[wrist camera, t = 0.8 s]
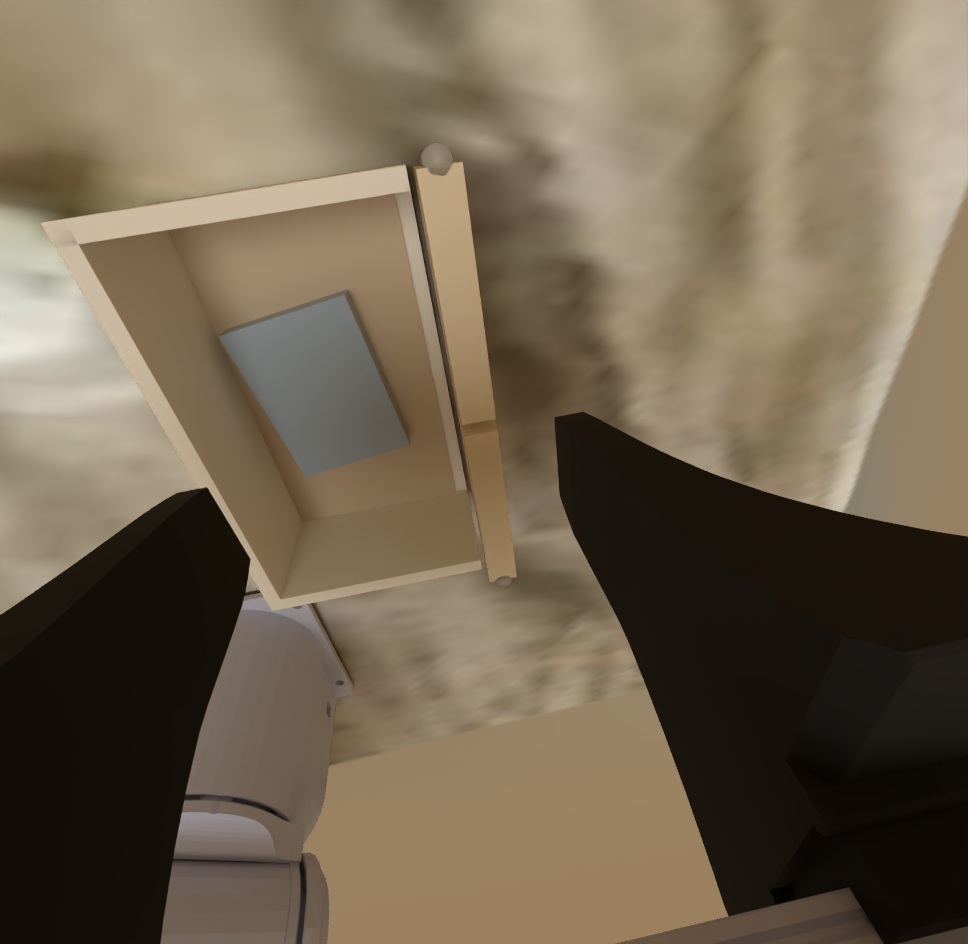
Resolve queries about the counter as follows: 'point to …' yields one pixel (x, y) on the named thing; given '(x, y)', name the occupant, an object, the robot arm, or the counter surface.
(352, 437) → the booklet
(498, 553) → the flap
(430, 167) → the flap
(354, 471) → the carton
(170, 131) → the counter surface
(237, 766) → the robot arm
